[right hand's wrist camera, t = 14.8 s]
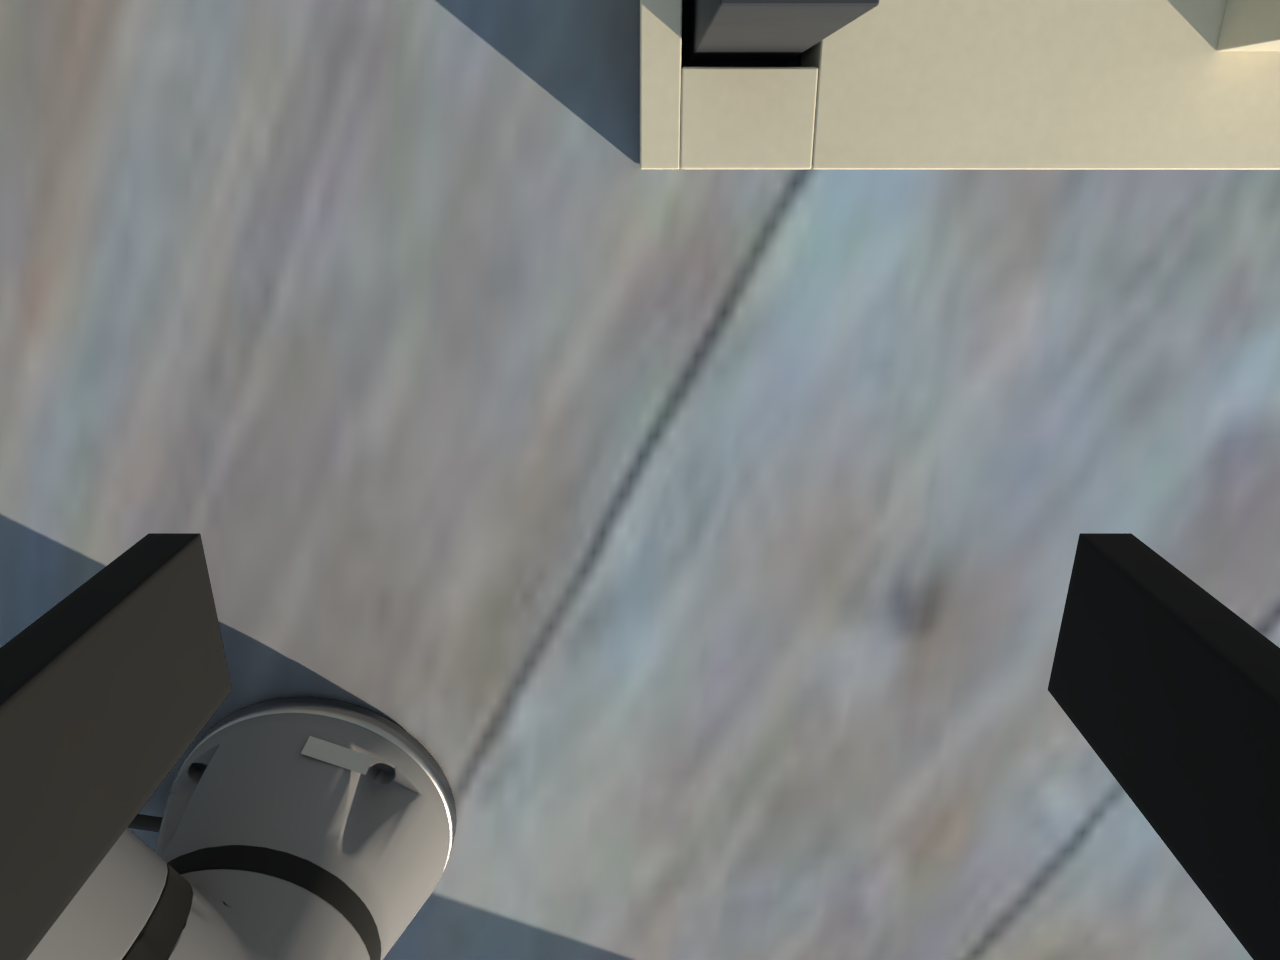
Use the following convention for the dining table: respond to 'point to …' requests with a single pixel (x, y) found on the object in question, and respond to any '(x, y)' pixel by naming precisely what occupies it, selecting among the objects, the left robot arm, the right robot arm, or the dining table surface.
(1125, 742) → the right robot arm
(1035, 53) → the peg board
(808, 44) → the peg
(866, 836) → the dining table surface
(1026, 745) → the dining table surface
